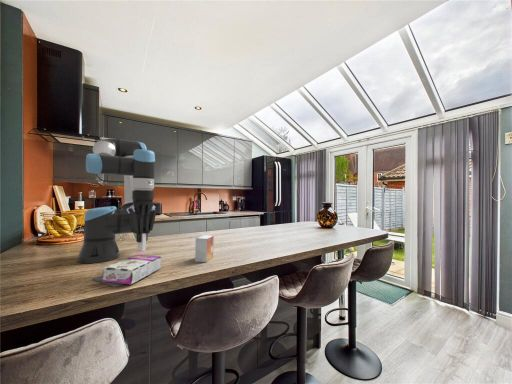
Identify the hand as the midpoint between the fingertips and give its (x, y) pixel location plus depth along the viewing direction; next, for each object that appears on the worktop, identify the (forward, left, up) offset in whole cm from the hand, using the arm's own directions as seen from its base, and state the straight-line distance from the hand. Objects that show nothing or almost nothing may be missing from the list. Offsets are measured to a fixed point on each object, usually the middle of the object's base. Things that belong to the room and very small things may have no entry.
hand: (141, 250), depth 84 cm
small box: (+12, +23, -8) cm, 27 cm away
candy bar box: (0, +3, -5) cm, 6 cm away
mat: (0, -7, -8) cm, 10 cm away
